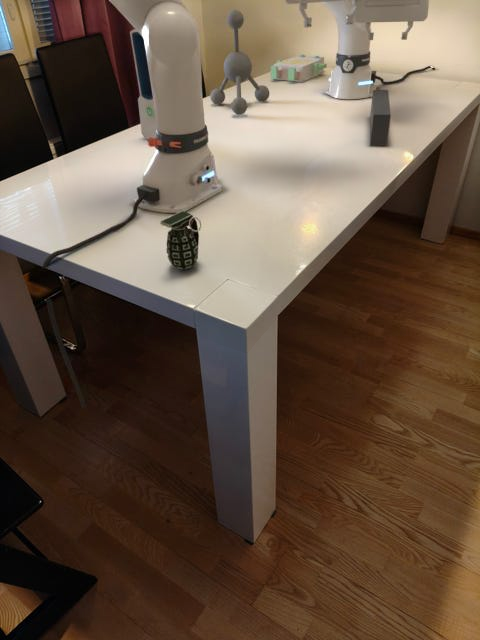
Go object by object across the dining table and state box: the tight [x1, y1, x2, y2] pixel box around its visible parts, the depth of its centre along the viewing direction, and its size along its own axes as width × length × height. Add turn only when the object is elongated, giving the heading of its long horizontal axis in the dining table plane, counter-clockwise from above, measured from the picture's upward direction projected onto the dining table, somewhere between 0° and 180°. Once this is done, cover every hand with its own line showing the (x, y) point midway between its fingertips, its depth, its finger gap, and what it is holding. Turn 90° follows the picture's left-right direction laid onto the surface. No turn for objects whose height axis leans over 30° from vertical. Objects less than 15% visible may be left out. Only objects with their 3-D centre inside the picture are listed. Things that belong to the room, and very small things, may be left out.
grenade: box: [159, 211, 202, 271], centre depth 88 cm, size 7×6×10 cm
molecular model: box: [209, 9, 270, 116], centre depth 169 cm, size 24×22×30 cm
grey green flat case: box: [270, 54, 328, 83], centre depth 210 cm, size 26×6×20 cm
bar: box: [369, 89, 392, 147], centre depth 146 cm, size 27×5×9 cm, turn 168°
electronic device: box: [129, 28, 158, 140], centre depth 143 cm, size 12×8×30 cm, turn 47°
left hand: (328, 25), depth 108 cm, fingers open, 8 cm apart
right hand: (387, 39), depth 142 cm, fingers open, 8 cm apart
